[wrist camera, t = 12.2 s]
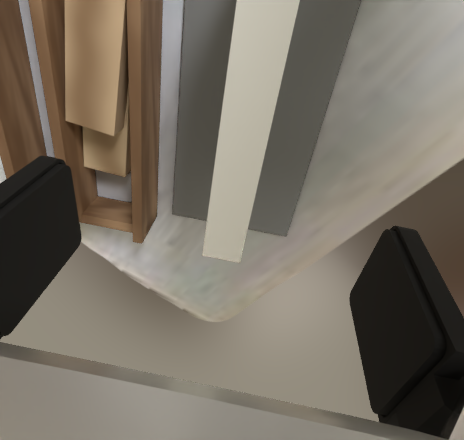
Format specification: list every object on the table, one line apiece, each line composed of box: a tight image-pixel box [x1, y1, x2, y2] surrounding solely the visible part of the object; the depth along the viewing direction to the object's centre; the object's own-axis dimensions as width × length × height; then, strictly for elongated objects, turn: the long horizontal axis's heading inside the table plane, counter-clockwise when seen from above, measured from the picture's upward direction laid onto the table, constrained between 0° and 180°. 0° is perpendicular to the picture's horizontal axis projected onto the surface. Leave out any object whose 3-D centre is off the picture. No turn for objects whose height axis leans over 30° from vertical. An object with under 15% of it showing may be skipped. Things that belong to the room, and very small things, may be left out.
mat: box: [172, 0, 361, 236], centre depth 30 cm, size 14×34×1 cm, turn 171°
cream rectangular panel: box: [202, 0, 300, 263], centre depth 25 cm, size 3×22×13 cm, turn 171°
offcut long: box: [83, 83, 131, 177], centre depth 30 cm, size 4×24×3 cm, turn 167°
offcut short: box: [65, 0, 129, 136], centre depth 28 cm, size 4×12×2 cm, turn 163°
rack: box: [0, 0, 163, 243], centre depth 28 cm, size 14×36×6 cm, turn 171°
